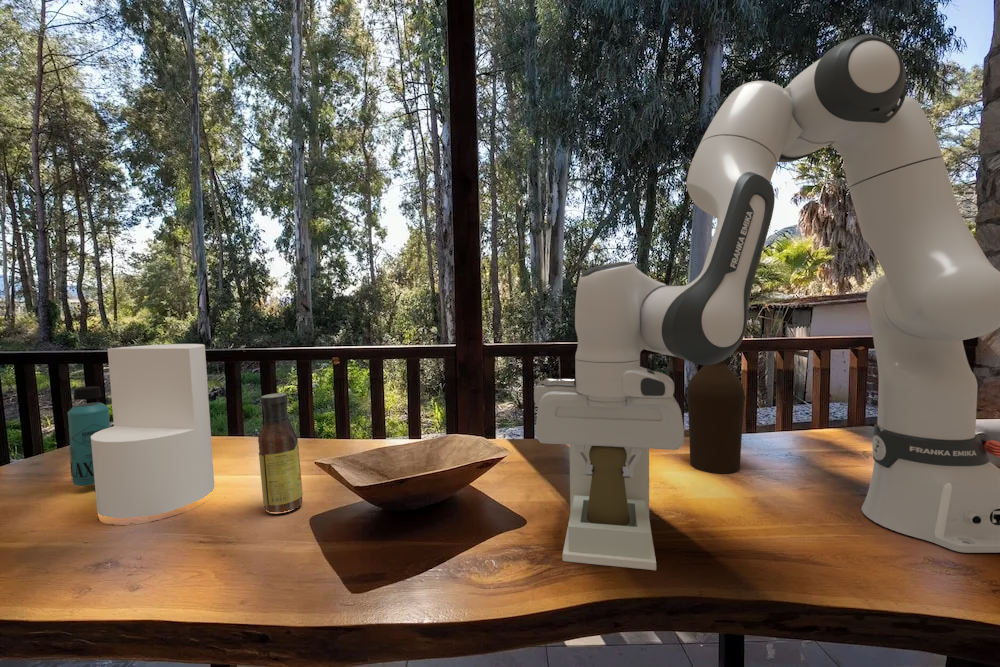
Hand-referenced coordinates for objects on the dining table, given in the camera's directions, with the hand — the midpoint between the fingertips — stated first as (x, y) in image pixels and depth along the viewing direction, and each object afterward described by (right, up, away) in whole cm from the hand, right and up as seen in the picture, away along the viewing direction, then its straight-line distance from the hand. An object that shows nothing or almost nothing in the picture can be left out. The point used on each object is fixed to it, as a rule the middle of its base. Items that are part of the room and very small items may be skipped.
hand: (607, 475), depth 69 cm
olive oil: (+29, -7, +31) cm, 43 cm away
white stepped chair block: (-77, -11, +18) cm, 80 cm away
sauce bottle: (-53, -10, +15) cm, 56 cm away
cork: (0, -7, +1) cm, 7 cm away
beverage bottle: (-95, -10, +27) cm, 100 cm away
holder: (0, -10, +1) cm, 10 cm away
